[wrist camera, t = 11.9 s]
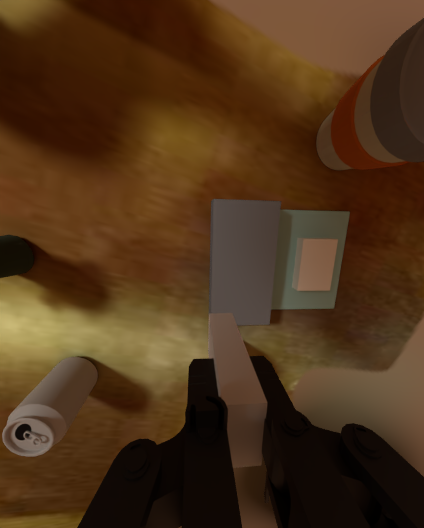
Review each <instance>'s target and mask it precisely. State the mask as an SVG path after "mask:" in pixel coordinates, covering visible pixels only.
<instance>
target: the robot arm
mask: <svg viewBox="0 0 424 528" xmlns="http://www.w3.org/2000/svg"><path fill="white" fill-rule="evenodd" d="M208 354H209V359H193V361H192V362H191V364H190V366H189V378H188V403H187V408H186V412H185V416H186V422H185V425H184V427H183V428H182V430H181V431H180V432H179V433H178V434H177V435H176V436H175V437H173V438H171V439H170V440H168V441H165V442H163V443H161V444H158V445H157V444H156V443H155V442H154V441H151V440H149V439H138V440H135V441H133V442H130V443H129V444H128V445H127V446H125V447H124V448H123V449H122V450H121V451H120V452H119V454H118V455H117V456H116V458H115V459H114V461H113V463H112V465H111V467H110V468H109V470H108V472H107V474H106V476H105V478H104V479H103V481H102V483H101V485H100V487H99V489H98V491H97V492H96V494H95V496H94V498H93V500H92V502H91V503H90V505H89V507H88V509H87V511H86V513H85V515H84V516H83V518H82V520H81V522H80V524H79V526H78V527H77V528H178V527H180V526H182V528H242V524H241V517H240V511H239V505H238V498H237V491H236V485H235V478H234V472H233V468H234V467H246V466H260V465H261V463H262V454H263V458H264V461H265V465H266V468H267V472H266V482H265V492H264V497H265V503H268V501H269V496H270V500H271V504H272V507H273V511H274V515H275V519H276V522H277V526H278V528H424V477H423V476H422V475H421V474H420V473H419V472H418V471H417V470H416V469H415V468H413V467H412V466H411V465H410V464H409V463H408V462H407V461H406V460H405V459H404V458H403V457H402V456H400V455H399V454H398V453H397V452H396V451H395V450H394V449H393V448H392V447H391V446H390V445H389V444H388V443H387V442H385V441H384V440H383V439H382V438H381V437H380V436H378V435H377V434H376V433H375V432H373V431H372V430H370V429H368V428H366V427H364V426H362V425H358V424H354V423H353V424H346V425H345V426H344V427H343V428H342V431H341V433H337V432H333V431H329V430H325V429H321V428H318V427H316V426H314V425H312V424H311V422H310V421H309V420H308V419H307V417H305V416H304V415H303V414H302V413H300V412H298V411H296V409H295V408H294V406H293V404H292V402H291V400H290V398H289V396H288V394H287V393H286V391H285V389H284V387H283V385H282V383H281V381H280V380H279V377H278V375H277V374H276V373H275V370H274V368H273V366H272V364H271V363H270V362H269V361H268V360H267V359H266V358H265V357H264V356H249V355H248V352H247V350H246V347H245V345H244V342H243V339H242V337H241V334H240V332H239V329H238V327H237V324H236V322H235V319H234V317H233V314H232V313H209V337H208Z"/></svg>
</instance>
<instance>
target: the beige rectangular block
mask: <svg viewBox="0 0 424 528" xmlns="http://www.w3.org/2000/svg"><path fill="white" fill-rule="evenodd" d="M337 243H338V239H332V238H297V247H296V256H295V264H294V273H293V282H292V287H293V288H294V289H296V290H297V291H330V287H331V281H332V275H333V268H334V262H335V256H336V249H337Z"/></svg>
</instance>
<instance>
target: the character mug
mask: <svg viewBox="0 0 424 528" xmlns="http://www.w3.org/2000/svg"><path fill="white" fill-rule="evenodd" d="M33 262H34V257H33V253H32V250H31V249H30V247H29V246H28V245H27V243H26V242H25V241H23V240H22V239H21V238H19V237H17V236H12V235H5V236H0V278H3V277H8V276H13V275H18V274H22V273H26V272H27V271H28V270H29V269H30V268H32V266H33Z"/></svg>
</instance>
